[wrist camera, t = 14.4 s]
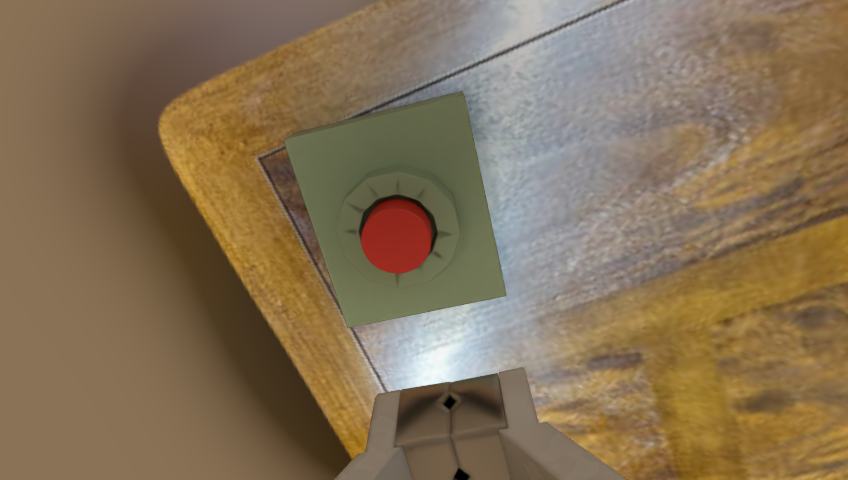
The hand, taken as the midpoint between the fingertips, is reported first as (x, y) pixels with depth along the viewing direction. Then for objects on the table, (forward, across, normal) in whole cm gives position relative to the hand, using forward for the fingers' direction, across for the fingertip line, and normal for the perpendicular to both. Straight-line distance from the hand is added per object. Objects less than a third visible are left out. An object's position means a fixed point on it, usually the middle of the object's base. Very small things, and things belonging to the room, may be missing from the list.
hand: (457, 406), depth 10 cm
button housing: (+21, +3, +2) cm, 22 cm away
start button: (+18, +3, +2) cm, 18 cm away
